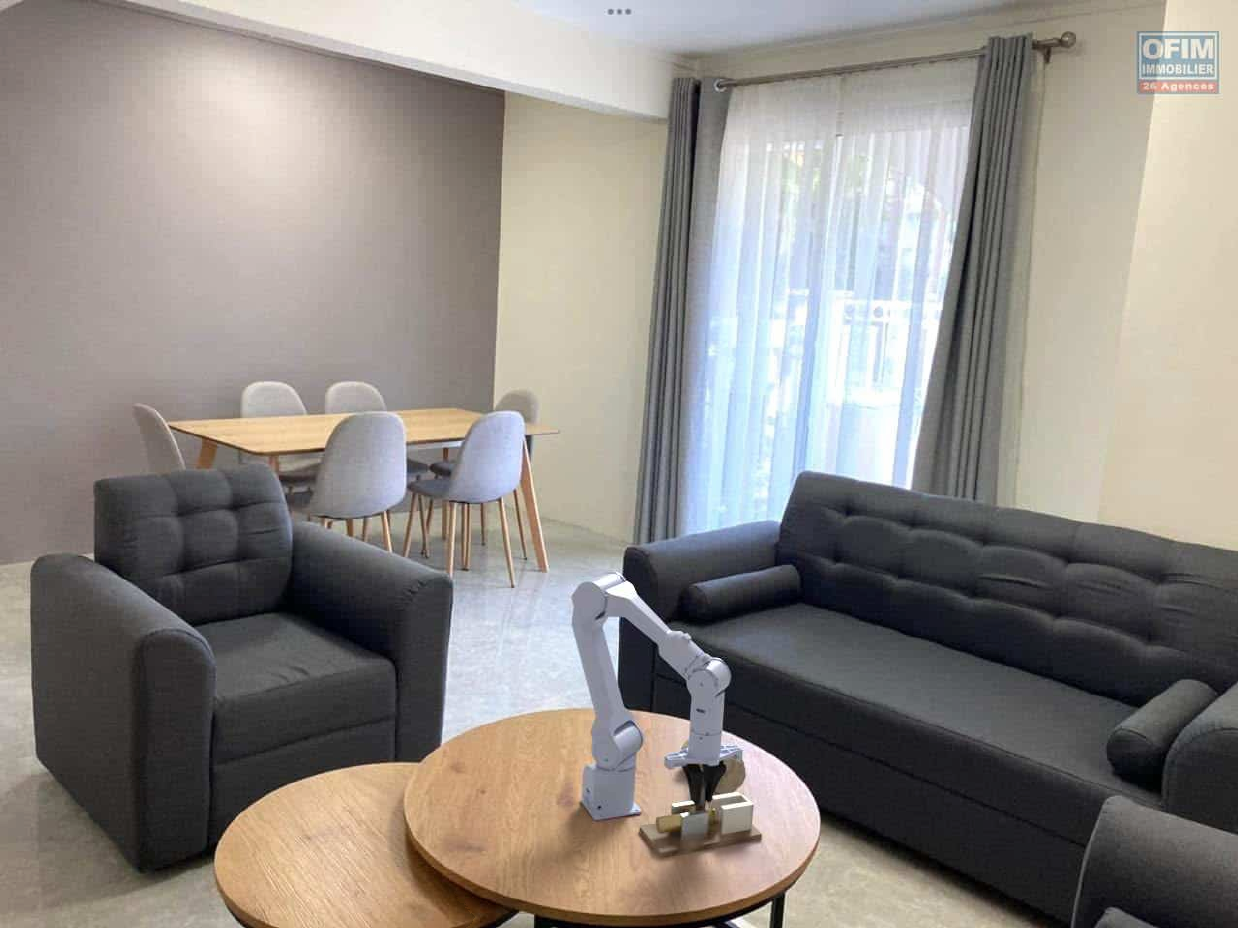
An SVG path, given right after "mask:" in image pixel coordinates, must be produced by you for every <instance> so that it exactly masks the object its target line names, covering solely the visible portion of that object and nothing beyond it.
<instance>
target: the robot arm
mask: <svg viewBox="0 0 1238 928" xmlns="http://www.w3.org/2000/svg"><path fill="white" fill-rule="evenodd" d="M570 598H571V601H572V606H573V608H572V615H571V628H572V630H573V631H572V632H573V635H574V638H575V643H576V646H577V650H578V653H579V658H580V661H581V665H582V670H583V674H584V677H585V680H586V684H587V687H588V691H589V695H590V699H591V703H592V706H593V711H594V714H595V717H594V719H593V722H592V725H591V729H590V737H591V747H590V751H591V756H592V759H593V760H594V762H592V763H590V764H586V765H585V766H584V767H583V772H582V785H581V786H582V789H581V797H580V799H579V801H580V802H581V804H583V805H582V806H583V807H585V809H586V810H587V812H588V813H589V815H590V816H591V817H592V819H593V820H594V821H600V820H606V819H611V818H612V819H613V818H619V817H625V816H626V817H627V816H631V815H636V814H641V813H642V809H641V808H640V806H639V805H638V803H636V802H635V790H636V789H635V788H636V786H635V785H636V770H637V756H638V755H637V753H638V752H639V751H640V750H641V749H642V748H643V745H644V740H645V738H644V737H645V736H644V733H643V730H642V728H641V727H640V726H639V724H638V723H637V721H636V718H635V715H634V713H633V712H632V711H630V710H628V708H626V707H625V706H624V703H623V702H624V701H623V699H622V694H621V691H620V688H619V683H618V679H617V677H616V672H615V668H614V665H613V664H614V663H613V661H612V656H611V654H610V653H611V652H610V650H609V649H610V648H609V646H608V641H607V639H606V635H605V630H604V625H605V623H606V622H607V620H608V618H610V617H612V618H613V617H615V618H625V619H627V620H628V621H629V622H630V623H631V624H633V625H634V627H636V628H637V629H638V630H639V631H641V632H642V633H644V635H646V636H647V637H648V638H650V639H651V640H652V641H653V642H654V643H655V644H657V646H658V655H659V656H660V657H661V658H662V659H663V660H664V661H666V662H667V663H668V665H670V666H671V667H672V668H673V669H674V670H675V671H676V672H677V673H678V674H679V675H680V676H681V678H683V679H684V680H685V681H686V688H687V690H688V692H689V694H690V697H691V704H690V718H689V730H688V731H689V733H688V739H689V745H688V748H686V749H683V750H681V749H680V750H678V751H676V752H673V753H670V754H669V753H667V754H664V761H663V762H664V763H663V764H664V765H663V766H664V767H665V768H666V769H667V770H668V771H671V770H674V769H675V768H679V767H681V768H682V771H683V773H684V775H685V778H686V781H687V785H688V789H689V790H688V791H689V796H690V801H693V802H694V804H699V802H700V793H701V785H702V781H705V782H706V783H707V793H706V803H711V801H712V797H713V796H714V795H715V793H714V792H715V789H716V787H717V785H718V783H719V781H720V779H721V778H722V776H723V775H724V774H725V772H726V769H727V766H726V765H725V764H724V763H723V762H724V760H729V759H736V760H741V759H742V760H743V753H744V750H743V748H741V746H739V745H738V744H736V745H735V744H734V745H733V744H732V745H725V744H724V745H722V737H723V724H724V709H725V693H726V692H725V690H726V688H727V687H729V685H730V683H731V679H732V675H731V671H730V668H729V666H728V665H727V664H726V662H724V660H723V659H721V658H719V657H712V656H711V655H709V653H705V652H704V650H702V649H701V648H700V647H699V646H698V645H697V644H696V643H695V642H694V641H692V636H691V635H689V633H687V632H685V633H684V632H683V631H680V630H679V631H678V630H672V629H670V628H669V627H668V626H667V624H665V622H664V621H663V620H662V619H661V618H660V617H659V616H658V615H657V613H655V612H654V611H653V609H651V608H650V606H648V604H647V603H645V601H644V600H643V599H642V598H641V597H640V596H639V595H638V594H637V591H636V589H635V587H634V584H632V583H631V582H629V581H627V579H626V578H625V576H623V575H622V574H620V572H617V571H609V572H606V573H604V574H603V575H600V576H598V577H596V578H592V579H591V580H585V581H583V582H581V583H580V584H579V585H578V586H577V587H576V589H575V590H574V592H573V593H572V595H571V597H570ZM699 764H703V771H702V770H701V766H699Z"/></svg>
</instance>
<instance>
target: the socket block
mask: <svg viewBox="0 0 1238 928" xmlns="http://www.w3.org/2000/svg"><path fill="white" fill-rule="evenodd" d="M709 803H710V806H709V808H715V809H716V811H717V813H718V821H719V820H722V825H721V834H728V833H734V832H739V831H745V830H750V829H752V824H753V819H754V817H753V816H754V803H753V802H752V801H751V800H749V798H747V797H746V796H745V795H744V794H743V793H742V792H741V791H735V792H733V793H727V794H721V795H716V794H714V795H713V797H712V801H711V802H709Z"/></svg>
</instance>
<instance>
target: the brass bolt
mask: <svg viewBox="0 0 1238 928" xmlns="http://www.w3.org/2000/svg"><path fill="white" fill-rule="evenodd" d="M706 793H707V783H706V782H705V781H702V785H701V793H700V802H699V804H696V805H695V811H701V810H707V811H708V825H716V824H717V823H718V813H717V811H716V809H715V808H710V807H709V808H707V807H706V804H707V801H706ZM695 811H691V812H695ZM685 813H689V812H685ZM680 814H683V813H679V814H673V815H671V814H668V815H662V816H657V817H656V818H655V824H656V829H657V831H658V833H659V834H662V833H668V832H673V831H679V830H681V819H682V818H681V817H680Z"/></svg>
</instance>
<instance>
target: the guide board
mask: <svg viewBox="0 0 1238 928" xmlns="http://www.w3.org/2000/svg"><path fill="white" fill-rule="evenodd" d="M695 805H696V804H694V802H693V801H692V800H688V801H683V802H677V803H671V807H670V808H671V809H670V815H673V814H679V813H683V814H680V817H681V818H682V819H681V830H679V831H673V832H668V833H662V834H659V833H658V831H657V829H656V823H650V824H645V825H639V831H638V832H639V833H640V834H641V835H642V837H643V839H645V841H647V843H648V844H649V845H650V847H651V848H652V849H653V851H654V852H655V853H656V854H657V855H658V857H659V858H660V859H662V858H666V857H671V856H672V857H673V856H676V855H677V856H678V855H683V854H688V853H694V852H699V851H704V850H710V849H715V848H716V849H717V848H721V847H726V846H733V845H737V844H743V843H748V842H754V841H759V840H763V833H762V832H761V831H760V830H758V829H759V828H756V826H754V824H753V823H752V829H750V830H745V831H739V832H734V833H728V834H721V825H722V820H719V821H718V823H717V824H716V825H708V811H707V810H701V811H695ZM691 811H695V812H691ZM685 812H689V813H685Z"/></svg>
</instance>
